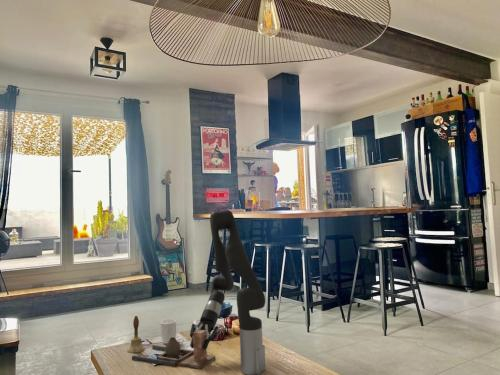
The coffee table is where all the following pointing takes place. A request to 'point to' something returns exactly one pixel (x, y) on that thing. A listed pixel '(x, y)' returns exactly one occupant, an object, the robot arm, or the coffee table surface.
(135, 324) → the hand bell
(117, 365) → the coffee table surface
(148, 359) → the lane rails
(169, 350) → the vase
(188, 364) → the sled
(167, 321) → the white cup
